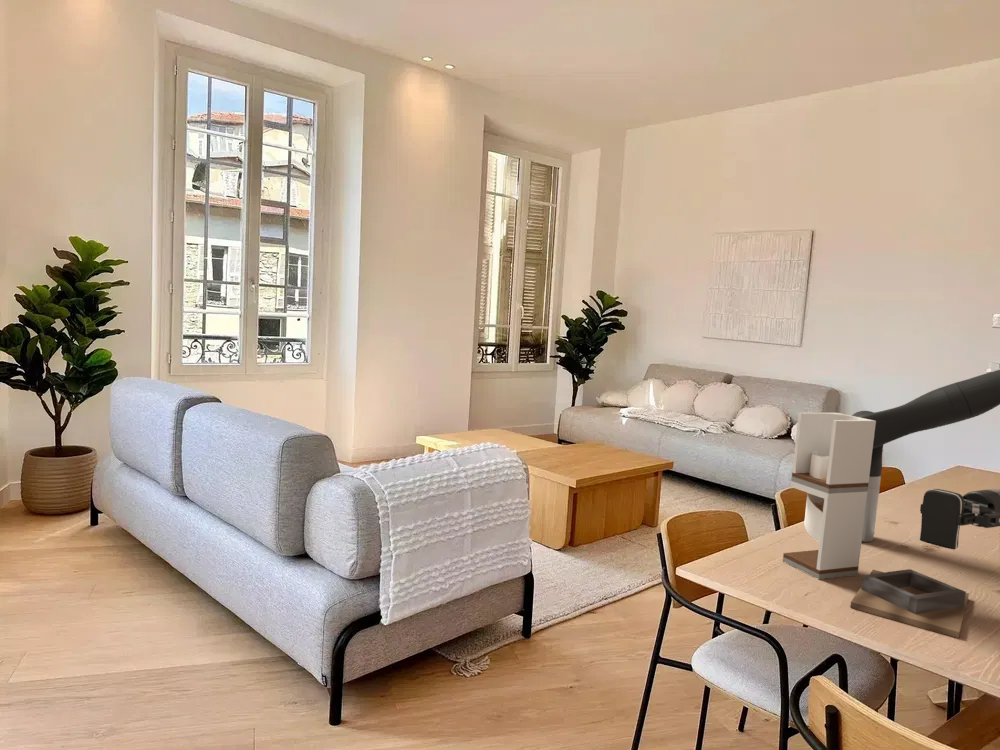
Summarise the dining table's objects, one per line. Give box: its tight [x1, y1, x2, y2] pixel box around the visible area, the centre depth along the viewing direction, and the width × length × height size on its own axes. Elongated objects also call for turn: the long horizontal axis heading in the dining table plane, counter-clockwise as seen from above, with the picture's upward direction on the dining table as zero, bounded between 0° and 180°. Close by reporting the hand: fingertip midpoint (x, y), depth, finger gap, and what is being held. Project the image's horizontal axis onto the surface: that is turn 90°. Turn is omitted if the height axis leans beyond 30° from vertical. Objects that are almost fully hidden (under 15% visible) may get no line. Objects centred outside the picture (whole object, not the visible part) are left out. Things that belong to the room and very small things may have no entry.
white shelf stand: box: [782, 412, 876, 580], centre depth 157 cm, size 11×11×35 cm
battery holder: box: [849, 568, 970, 639], centre depth 141 cm, size 18×24×4 cm
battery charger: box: [919, 488, 965, 550], centre depth 144 cm, size 7×4×11 cm, turn 37°
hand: (940, 514), depth 143 cm, fingers closed on battery charger, 7 cm apart
